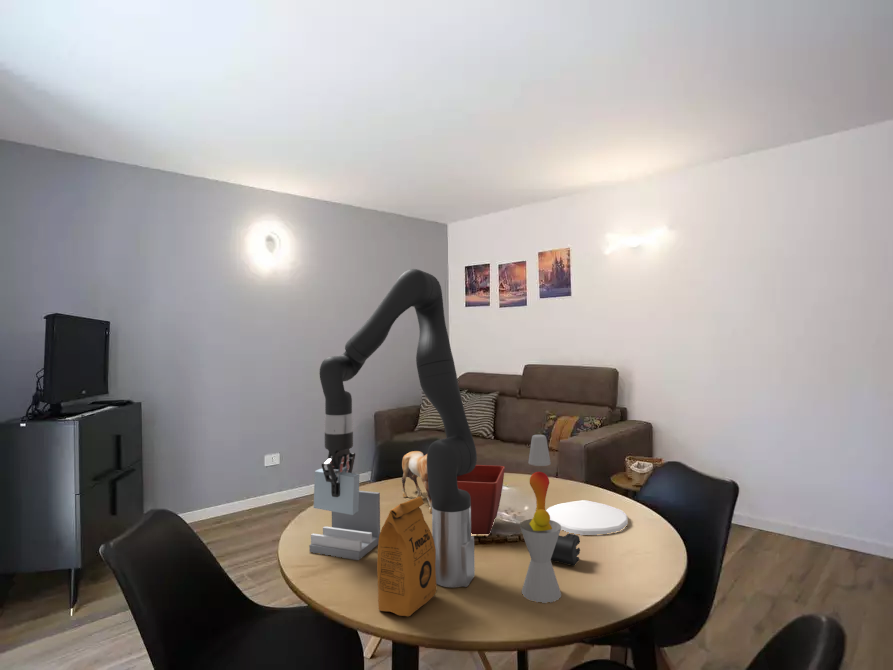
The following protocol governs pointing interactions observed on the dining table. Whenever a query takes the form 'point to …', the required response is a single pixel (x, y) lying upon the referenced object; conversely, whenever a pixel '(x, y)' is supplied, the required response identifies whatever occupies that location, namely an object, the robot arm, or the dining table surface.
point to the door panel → (348, 493)
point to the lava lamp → (540, 532)
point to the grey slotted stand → (351, 530)
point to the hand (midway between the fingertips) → (339, 494)
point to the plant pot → (483, 495)
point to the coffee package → (406, 560)
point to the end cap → (566, 549)
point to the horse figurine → (416, 472)
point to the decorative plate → (588, 517)
